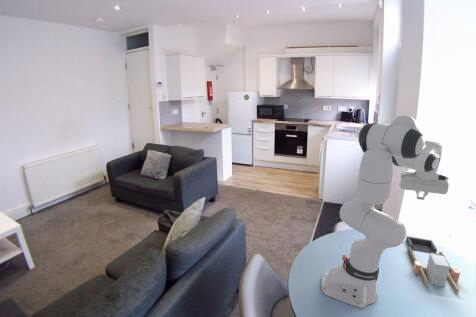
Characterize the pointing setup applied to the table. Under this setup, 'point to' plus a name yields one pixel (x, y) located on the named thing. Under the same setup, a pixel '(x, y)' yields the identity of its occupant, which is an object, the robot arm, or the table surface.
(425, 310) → the table surface
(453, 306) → the table surface
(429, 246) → the dark grey tray
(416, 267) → the posts
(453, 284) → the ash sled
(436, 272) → the small box
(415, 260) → the walnut channel
